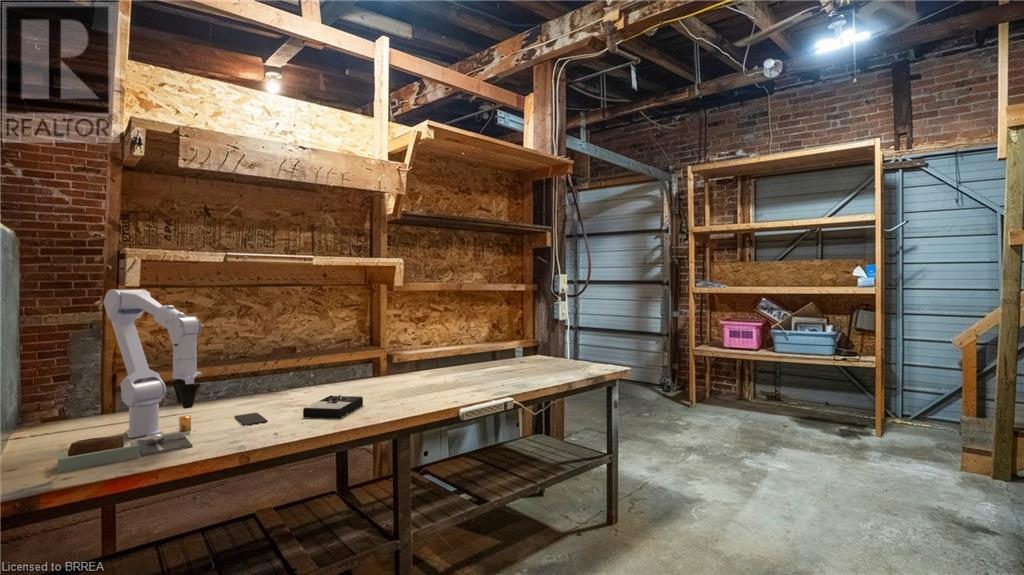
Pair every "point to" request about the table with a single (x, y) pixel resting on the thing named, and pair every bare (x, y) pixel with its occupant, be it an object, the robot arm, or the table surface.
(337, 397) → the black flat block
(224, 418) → the table surface
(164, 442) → the plate
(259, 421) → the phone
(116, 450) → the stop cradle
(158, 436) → the crank
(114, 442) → the brick
